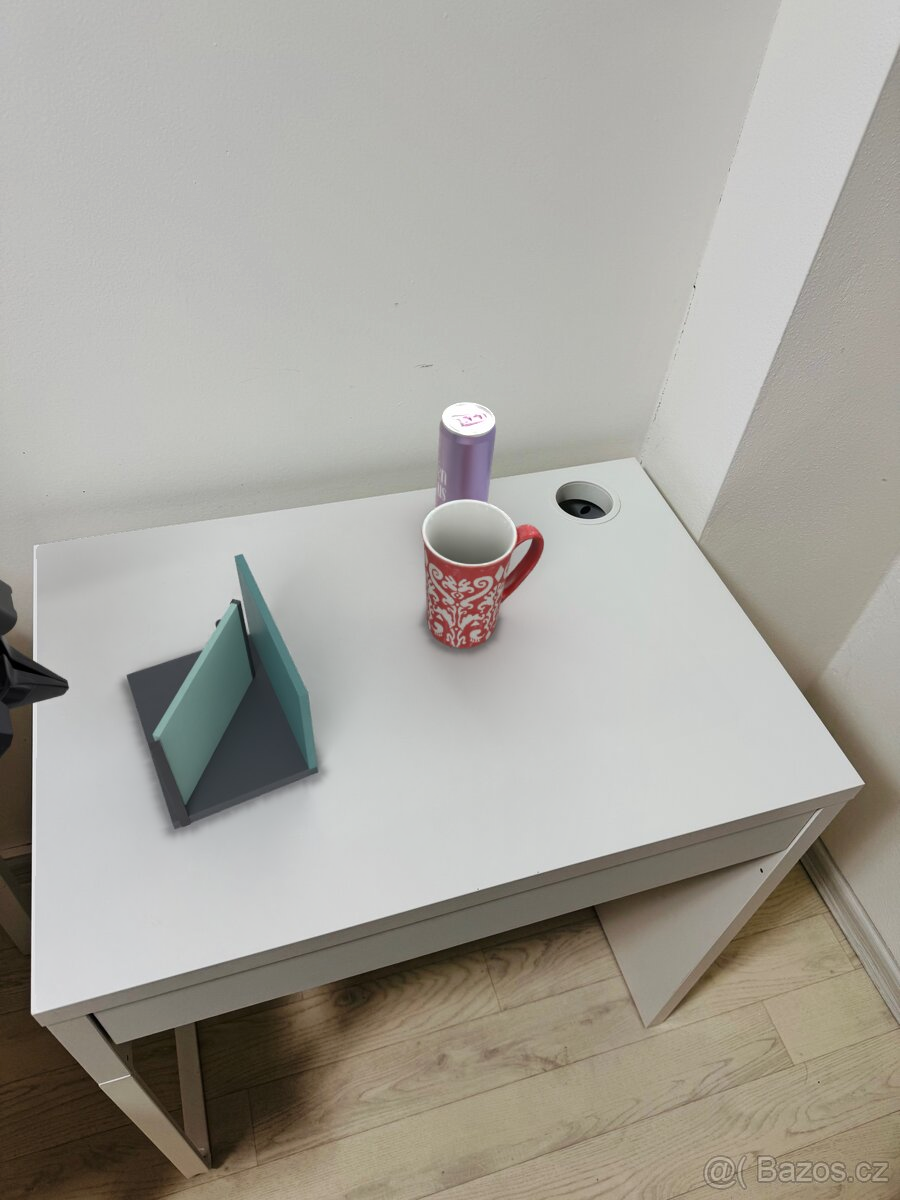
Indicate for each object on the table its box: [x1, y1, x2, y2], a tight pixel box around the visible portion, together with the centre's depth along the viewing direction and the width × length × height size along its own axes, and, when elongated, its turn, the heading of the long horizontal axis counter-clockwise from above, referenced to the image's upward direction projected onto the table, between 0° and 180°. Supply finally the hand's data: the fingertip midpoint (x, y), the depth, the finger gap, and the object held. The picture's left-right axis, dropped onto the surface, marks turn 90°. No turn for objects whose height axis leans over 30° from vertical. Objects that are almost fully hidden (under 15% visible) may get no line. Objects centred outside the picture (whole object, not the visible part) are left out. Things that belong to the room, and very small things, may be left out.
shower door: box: [153, 598, 256, 805], centre depth 72 cm, size 2×14×11 cm, turn 165°
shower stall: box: [126, 553, 319, 830], centre depth 74 cm, size 13×17×12 cm
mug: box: [421, 500, 545, 649], centre depth 84 cm, size 13×9×14 cm
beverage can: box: [434, 402, 497, 509], centre depth 93 cm, size 6×6×15 cm
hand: (65, 688), depth 70 cm, fingers closed
